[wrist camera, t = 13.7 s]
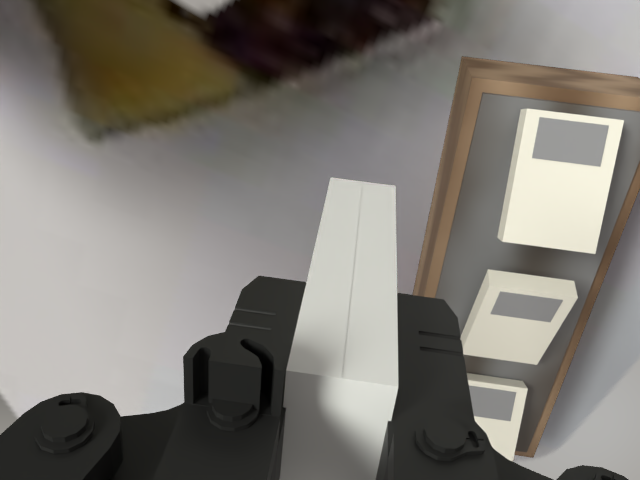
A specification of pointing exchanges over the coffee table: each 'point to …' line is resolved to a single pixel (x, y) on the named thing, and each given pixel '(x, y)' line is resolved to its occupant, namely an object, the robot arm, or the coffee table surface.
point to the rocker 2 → (559, 180)
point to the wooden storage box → (487, 203)
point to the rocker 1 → (498, 409)
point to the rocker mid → (516, 316)
